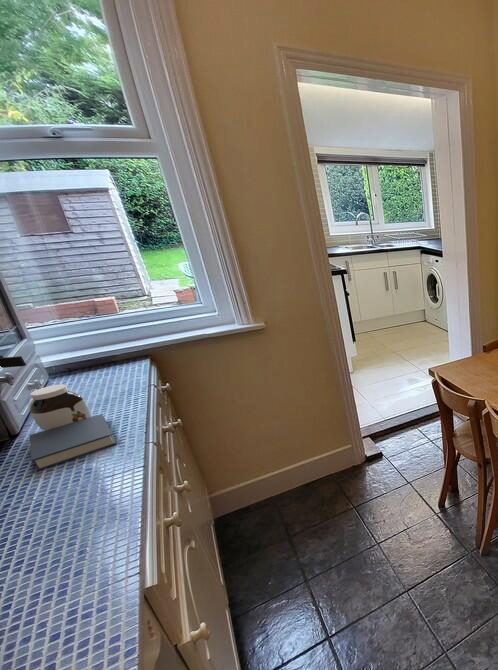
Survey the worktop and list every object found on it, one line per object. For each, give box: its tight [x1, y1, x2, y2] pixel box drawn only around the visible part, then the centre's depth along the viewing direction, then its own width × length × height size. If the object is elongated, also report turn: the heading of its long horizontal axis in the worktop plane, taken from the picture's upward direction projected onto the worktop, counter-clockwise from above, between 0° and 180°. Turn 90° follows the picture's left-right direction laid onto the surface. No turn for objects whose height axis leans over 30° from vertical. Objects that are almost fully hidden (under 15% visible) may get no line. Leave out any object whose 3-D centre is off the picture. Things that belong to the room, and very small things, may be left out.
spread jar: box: [29, 383, 92, 431], centre depth 113 cm, size 12×11×12 cm
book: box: [29, 413, 117, 471], centre depth 105 cm, size 18×14×3 cm
